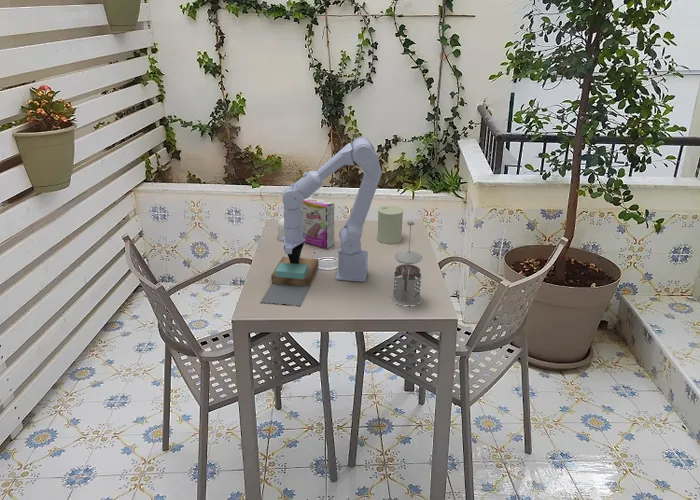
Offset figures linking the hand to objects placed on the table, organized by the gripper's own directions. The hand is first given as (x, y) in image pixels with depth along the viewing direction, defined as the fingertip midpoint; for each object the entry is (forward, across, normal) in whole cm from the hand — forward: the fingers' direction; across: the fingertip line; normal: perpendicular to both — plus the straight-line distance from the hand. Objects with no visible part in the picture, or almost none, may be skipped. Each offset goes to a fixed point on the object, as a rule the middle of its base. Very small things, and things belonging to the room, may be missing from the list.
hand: (294, 265), depth 181 cm
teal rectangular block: (+1, +4, 0) cm, 4 cm away
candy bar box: (+4, -27, +2) cm, 27 cm away
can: (+4, -36, +27) cm, 45 cm away
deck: (+4, -1, 0) cm, 4 cm away
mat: (+4, +12, 0) cm, 13 cm away
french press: (+4, +9, +36) cm, 37 cm away
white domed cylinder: (+4, -30, -11) cm, 32 cm away
